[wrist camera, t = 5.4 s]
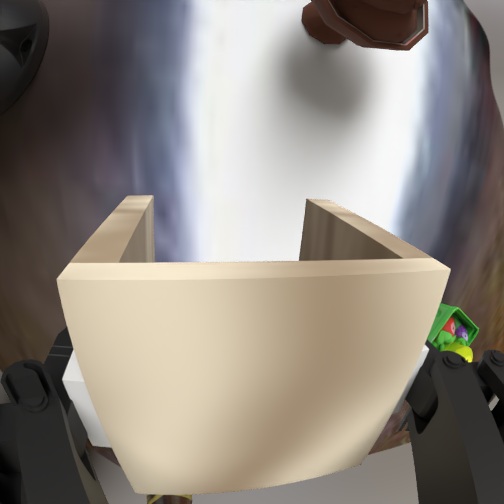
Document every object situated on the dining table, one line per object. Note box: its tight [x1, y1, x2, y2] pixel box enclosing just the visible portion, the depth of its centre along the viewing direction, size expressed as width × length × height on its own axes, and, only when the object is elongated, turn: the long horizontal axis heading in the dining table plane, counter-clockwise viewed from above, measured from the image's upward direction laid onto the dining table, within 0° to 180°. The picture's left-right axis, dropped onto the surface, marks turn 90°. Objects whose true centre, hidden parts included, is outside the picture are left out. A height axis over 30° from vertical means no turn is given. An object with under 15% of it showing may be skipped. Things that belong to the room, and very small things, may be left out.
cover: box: [57, 195, 451, 495], centre depth 10 cm, size 8×8×7 cm
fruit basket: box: [427, 303, 479, 362], centre depth 36 cm, size 11×9×11 cm
